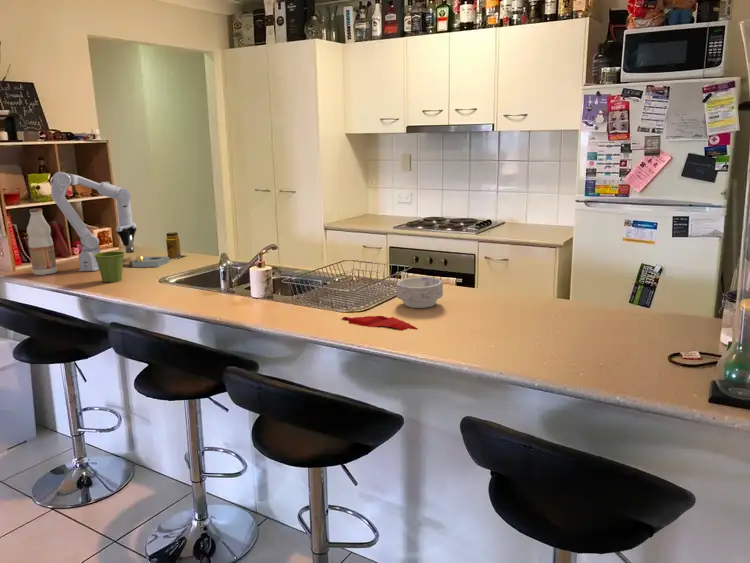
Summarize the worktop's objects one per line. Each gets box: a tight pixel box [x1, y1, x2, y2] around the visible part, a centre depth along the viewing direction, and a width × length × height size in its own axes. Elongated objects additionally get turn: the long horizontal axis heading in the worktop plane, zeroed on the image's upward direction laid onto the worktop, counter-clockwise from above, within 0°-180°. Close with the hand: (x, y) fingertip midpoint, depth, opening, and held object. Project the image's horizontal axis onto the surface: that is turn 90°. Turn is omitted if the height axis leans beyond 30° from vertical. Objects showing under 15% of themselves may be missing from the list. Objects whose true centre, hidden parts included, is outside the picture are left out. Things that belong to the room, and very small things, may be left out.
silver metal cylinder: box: [124, 234, 135, 254], centre depth 288 cm, size 4×4×8 cm
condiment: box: [165, 231, 187, 260], centre depth 303 cm, size 7×8×12 cm
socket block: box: [132, 256, 170, 268], centre depth 287 cm, size 12×12×2 cm
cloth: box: [341, 315, 419, 332], centre depth 188 cm, size 26×14×2 cm, turn 50°
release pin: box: [135, 255, 144, 261], centre depth 284 cm, size 3×3×4 cm
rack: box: [122, 256, 137, 268], centre depth 289 cm, size 12×7×2 cm, turn 174°
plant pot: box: [94, 250, 126, 283], centre depth 255 cm, size 12×12×11 cm
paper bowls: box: [395, 276, 444, 309], centre depth 207 cm, size 15×15×8 cm
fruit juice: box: [26, 208, 58, 276], centre depth 271 cm, size 9×9×28 cm
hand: (128, 244), depth 288 cm, fingers closed on silver metal cylinder, 4 cm apart
